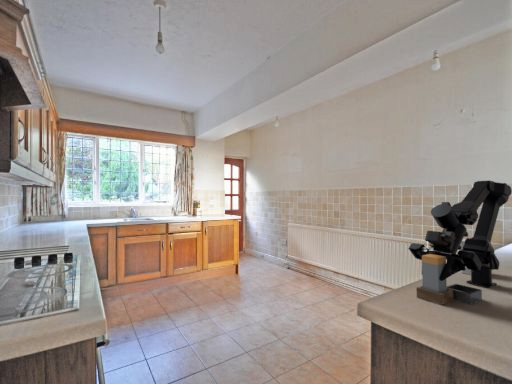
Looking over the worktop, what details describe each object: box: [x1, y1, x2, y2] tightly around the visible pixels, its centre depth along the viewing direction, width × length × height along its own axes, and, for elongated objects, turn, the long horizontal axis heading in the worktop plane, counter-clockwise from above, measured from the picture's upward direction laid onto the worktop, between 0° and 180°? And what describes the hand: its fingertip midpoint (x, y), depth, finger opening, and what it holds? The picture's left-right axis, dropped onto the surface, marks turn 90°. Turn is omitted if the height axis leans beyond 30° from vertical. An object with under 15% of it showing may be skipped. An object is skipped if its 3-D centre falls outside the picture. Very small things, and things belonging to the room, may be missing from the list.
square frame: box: [416, 285, 455, 306], centre depth 82 cm, size 7×7×3 cm
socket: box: [447, 283, 483, 305], centre depth 82 cm, size 7×7×3 cm
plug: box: [421, 254, 448, 293], centre depth 82 cm, size 4×4×13 cm
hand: (431, 277), depth 81 cm, fingers open, 5 cm apart
